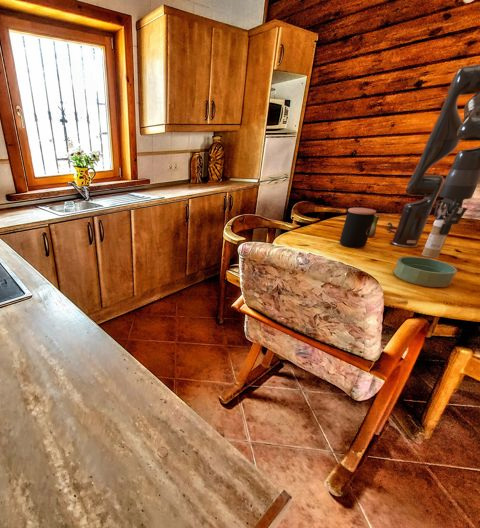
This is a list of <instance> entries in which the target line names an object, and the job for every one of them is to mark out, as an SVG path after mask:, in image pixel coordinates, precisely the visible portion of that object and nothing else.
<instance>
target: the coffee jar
mask: <svg viewBox="0 0 480 528" xmlns="http://www.w3.org/2000/svg"><path fill="white" fill-rule="evenodd" d="M347 212H348V213H347V214H346V216H345V220H344V224H343V228H342V231H341V234H340V239H339V243H340V245H341V246H343V247H345V248H350V249H363V248H364V247H366V245H367V242H368V239H369V237H368V236H369V233H370V230H371V227H372V224H373V221H374V217H375V216H374V215H376V213H377V210H376V209H373V208H366V207H350V208H348V210H347Z"/></svg>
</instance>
